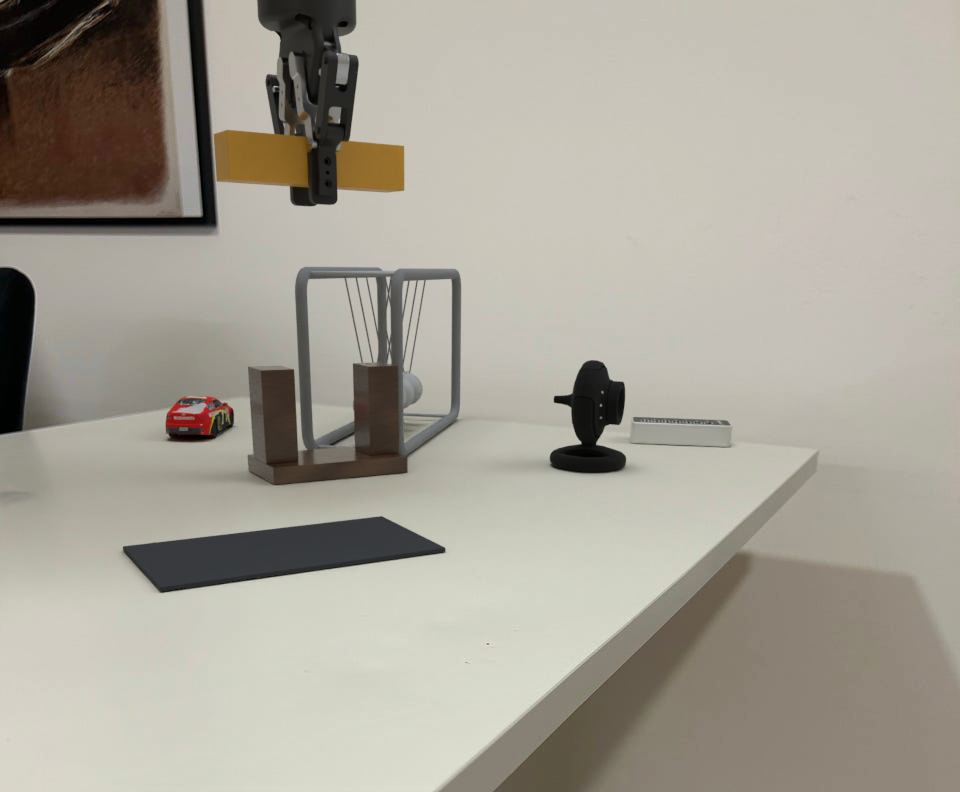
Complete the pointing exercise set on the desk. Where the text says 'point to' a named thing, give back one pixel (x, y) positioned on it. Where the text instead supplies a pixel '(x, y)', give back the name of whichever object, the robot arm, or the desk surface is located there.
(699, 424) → the multiport hub
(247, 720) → the desk surface
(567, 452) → the webcam
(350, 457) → the wooden u-shaped stand
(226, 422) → the race car
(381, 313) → the newton's cradle
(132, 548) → the mat
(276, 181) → the bar
